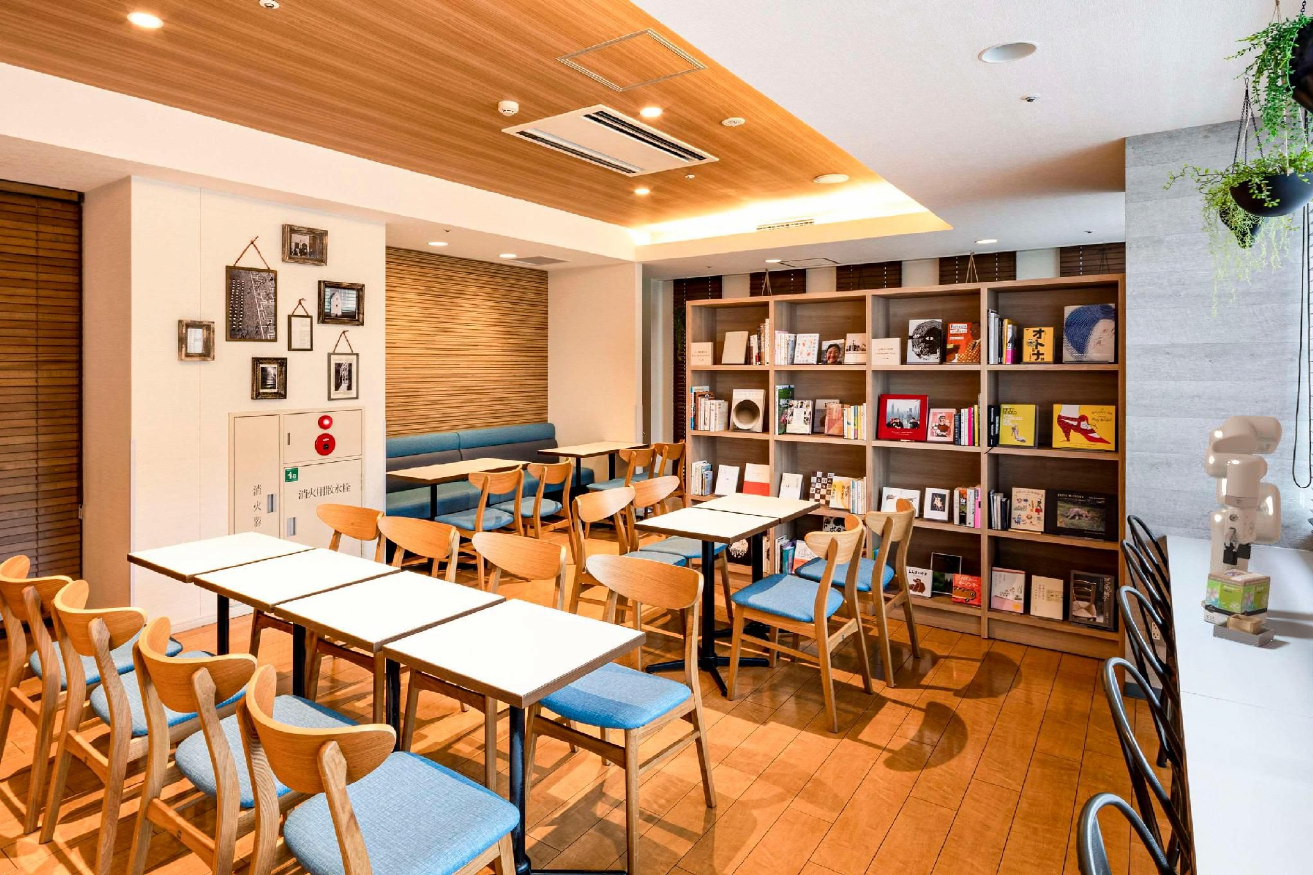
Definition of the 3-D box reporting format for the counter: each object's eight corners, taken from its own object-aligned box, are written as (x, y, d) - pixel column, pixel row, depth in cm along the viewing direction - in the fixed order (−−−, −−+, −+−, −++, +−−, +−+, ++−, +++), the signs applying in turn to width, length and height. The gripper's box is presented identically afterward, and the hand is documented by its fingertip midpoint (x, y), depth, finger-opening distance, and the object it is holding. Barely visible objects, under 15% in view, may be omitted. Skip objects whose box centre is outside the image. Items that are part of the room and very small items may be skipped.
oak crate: (1260, 637, 212) (1261, 619, 212) (1251, 640, 209) (1253, 623, 209) (1235, 630, 217) (1236, 613, 217) (1226, 634, 214) (1227, 617, 214)
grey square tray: (1228, 629, 221) (1229, 619, 220) (1273, 640, 212) (1274, 629, 211) (1212, 635, 215) (1213, 625, 214) (1258, 647, 206) (1259, 636, 206)
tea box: (1240, 631, 219) (1244, 581, 218) (1202, 621, 228) (1206, 572, 227) (1267, 623, 226) (1271, 575, 225) (1229, 614, 235) (1233, 567, 234)
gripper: (1245, 508, 205) (1240, 569, 207) (1268, 500, 215) (1263, 559, 217) (1213, 503, 211) (1208, 563, 213) (1237, 496, 221) (1232, 553, 223)
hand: (1236, 561), depth 215 cm, fingers open, 9 cm apart
